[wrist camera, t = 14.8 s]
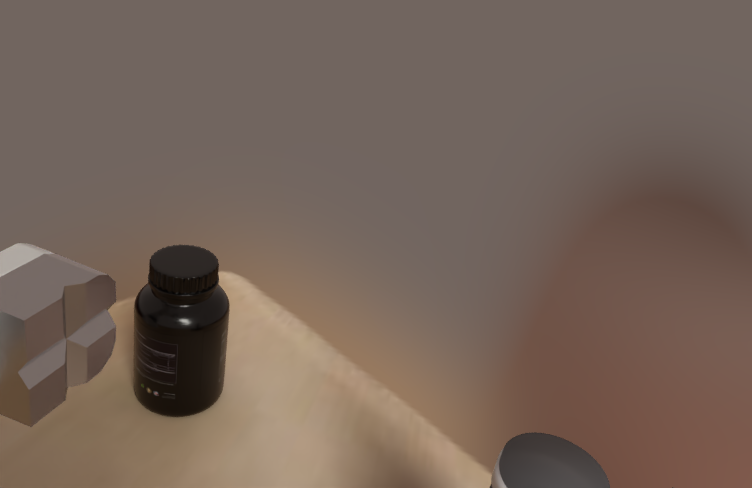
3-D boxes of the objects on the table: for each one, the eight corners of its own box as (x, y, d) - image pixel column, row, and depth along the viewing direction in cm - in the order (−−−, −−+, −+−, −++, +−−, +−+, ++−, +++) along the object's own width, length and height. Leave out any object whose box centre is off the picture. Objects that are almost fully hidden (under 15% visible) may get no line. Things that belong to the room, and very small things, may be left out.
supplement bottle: (174, 353, 60) (181, 227, 55) (239, 386, 58) (253, 259, 53) (113, 395, 55) (114, 260, 49) (183, 434, 52) (192, 297, 47)
